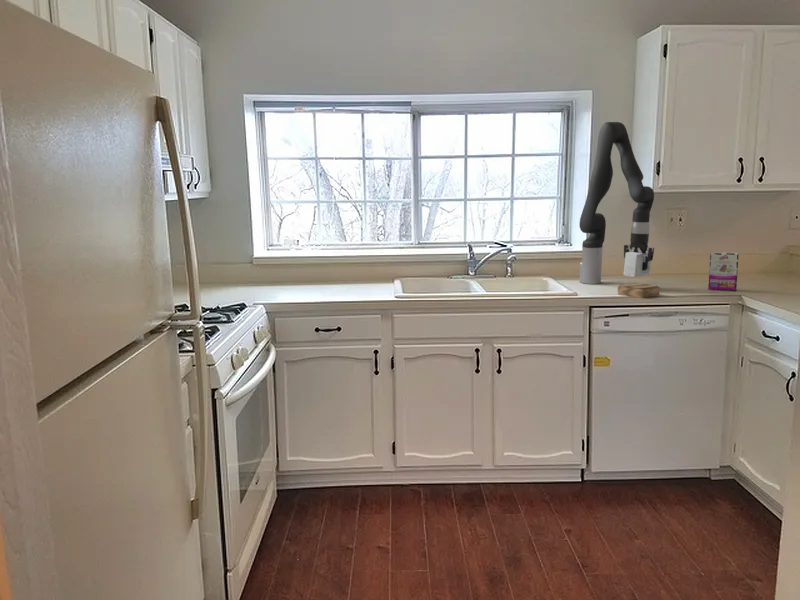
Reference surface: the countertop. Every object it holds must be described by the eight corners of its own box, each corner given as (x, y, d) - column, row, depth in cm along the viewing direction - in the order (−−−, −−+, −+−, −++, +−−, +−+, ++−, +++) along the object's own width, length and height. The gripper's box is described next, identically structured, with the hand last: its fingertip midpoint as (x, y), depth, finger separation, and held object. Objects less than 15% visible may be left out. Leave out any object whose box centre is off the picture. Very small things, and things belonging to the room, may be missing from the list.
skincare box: (635, 277, 278) (637, 254, 276) (623, 275, 283) (624, 252, 281) (650, 275, 284) (652, 252, 281) (637, 273, 289) (639, 250, 287)
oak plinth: (617, 294, 271) (618, 285, 270) (634, 291, 278) (634, 282, 277) (642, 298, 261) (642, 288, 261) (659, 294, 268) (659, 285, 268)
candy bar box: (736, 289, 278) (739, 252, 275) (736, 291, 274) (739, 253, 271) (708, 288, 283) (710, 251, 280) (707, 289, 279) (710, 252, 276)
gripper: (620, 231, 283) (618, 268, 286) (649, 234, 272) (646, 272, 275) (630, 230, 287) (628, 266, 291) (659, 232, 276) (656, 270, 279)
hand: (637, 269), depth 283 cm, fingers closed on skincare box, 6 cm apart
